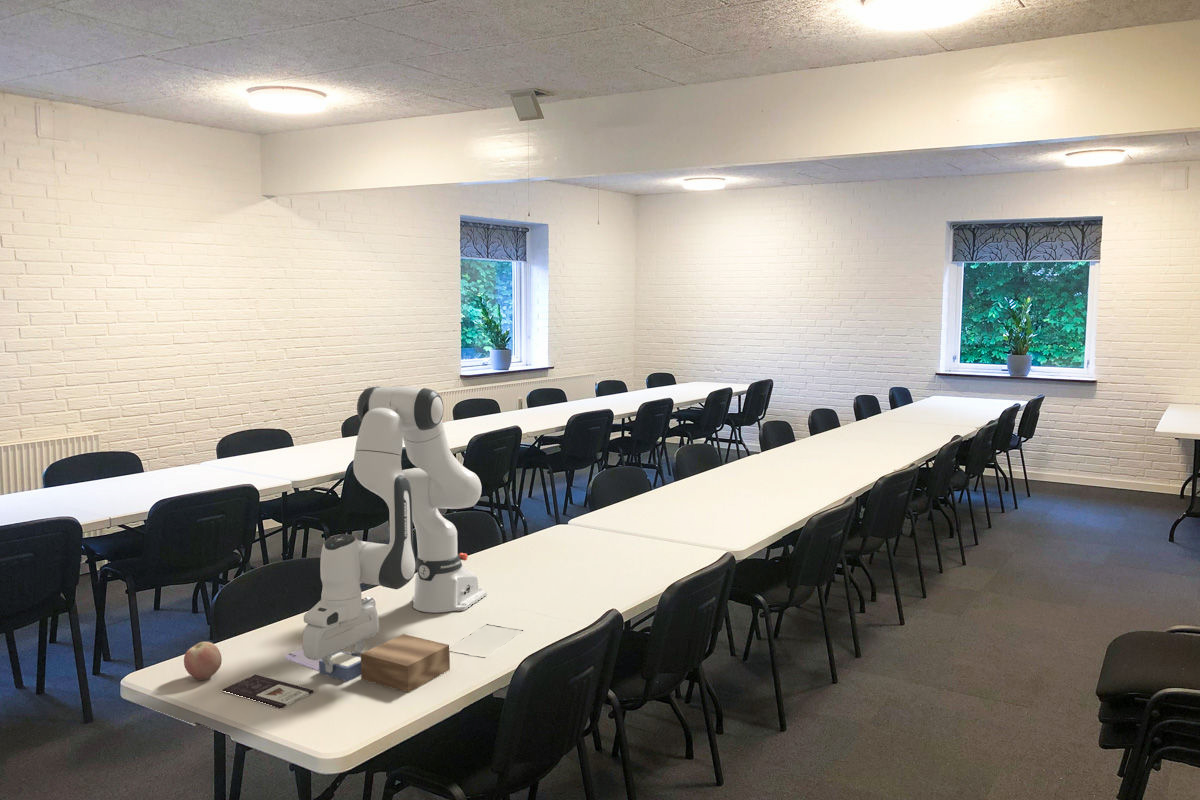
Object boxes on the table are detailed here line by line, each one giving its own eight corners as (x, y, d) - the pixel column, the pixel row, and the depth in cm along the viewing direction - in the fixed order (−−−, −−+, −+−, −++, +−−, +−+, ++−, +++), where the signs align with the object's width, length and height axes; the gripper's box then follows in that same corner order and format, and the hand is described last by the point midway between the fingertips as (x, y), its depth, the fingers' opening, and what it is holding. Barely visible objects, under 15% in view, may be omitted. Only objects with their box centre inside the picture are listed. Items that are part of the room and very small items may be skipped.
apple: (197, 669, 205) (195, 636, 204) (228, 671, 204) (227, 637, 204) (177, 684, 197) (176, 649, 197) (210, 685, 197) (208, 650, 196)
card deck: (340, 663, 209) (340, 650, 208) (368, 671, 204) (368, 658, 204) (319, 673, 203) (319, 660, 203) (347, 681, 199) (347, 668, 198)
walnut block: (404, 658, 212) (403, 634, 211) (449, 669, 205) (449, 644, 204) (361, 679, 200) (360, 653, 199) (408, 692, 193) (407, 666, 192)
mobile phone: (322, 669, 204) (282, 654, 212) (322, 673, 204) (282, 658, 213) (348, 659, 210) (309, 645, 219) (349, 663, 210) (309, 649, 219)
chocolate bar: (255, 674, 201) (313, 689, 193) (255, 678, 201) (313, 694, 193) (222, 689, 193) (281, 706, 185) (222, 693, 194) (281, 710, 185)
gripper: (364, 592, 213) (366, 647, 214) (297, 617, 195) (299, 678, 196) (384, 596, 210) (385, 652, 211) (317, 622, 192) (319, 684, 193)
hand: (343, 665), depth 204 cm, fingers closed on card deck, 6 cm apart
